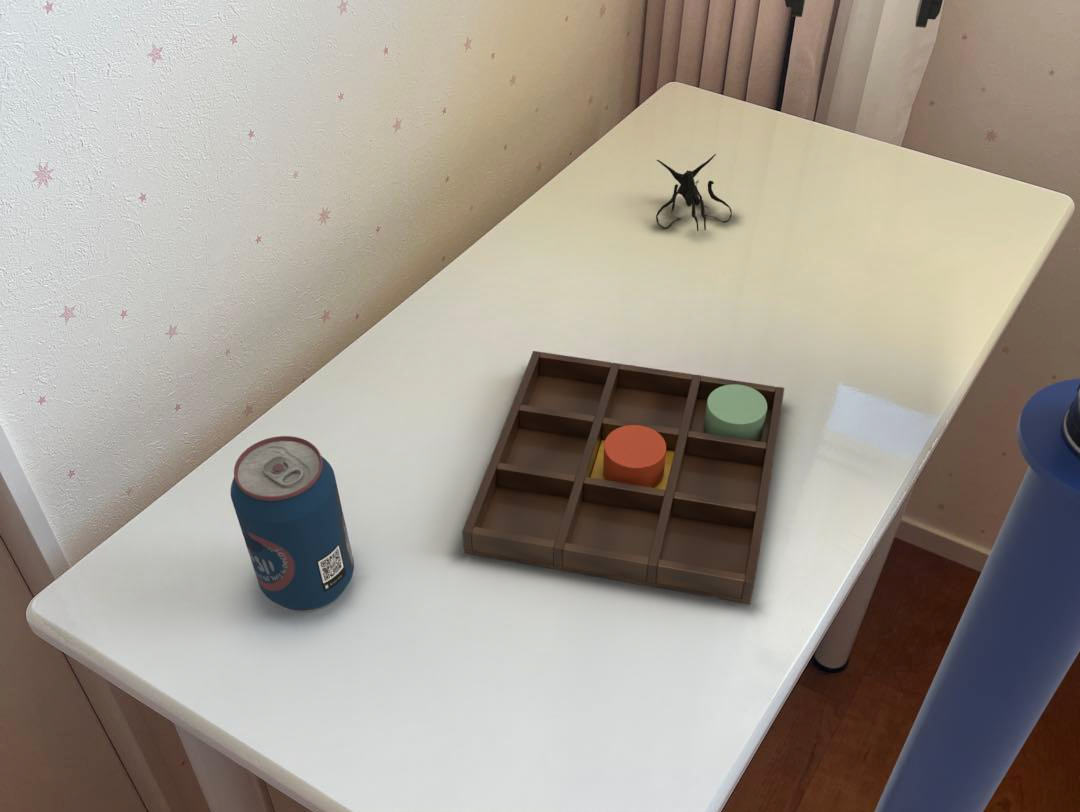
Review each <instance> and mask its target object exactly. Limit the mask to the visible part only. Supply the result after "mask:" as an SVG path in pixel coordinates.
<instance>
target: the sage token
mask: <svg viewBox="0 0 1080 812" xmlns="http://www.w3.org/2000/svg"><path fill="white" fill-rule="evenodd" d="M766 412H767V402H766V400H765V398H764V397H763V395H762V394H761V393H759V392H758V391H756V390H755V389H753V388H750V387H748V386H744V385H735V384H733V385H725V386H721V387H719V388H717V389H715V390H714V391H713V392H712V393H711V394H710V395H709V397H708V400H707V406H706V414H705V422H704V431H705V433H707V434H713V435H720V436H726V437H733V438H739V439H746V440H752V441H759V440H760V438H761V437H762V434H763V428H764V423H765V418H766Z"/></svg>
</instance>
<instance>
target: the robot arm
mask: <svg viewBox="0 0 1080 812" xmlns="http://www.w3.org/2000/svg"><path fill="white" fill-rule="evenodd" d="M943 2H944V0H919V1H918V4H917V8H916V9H917V10H916V13H915V14H916V15H915V23H914V24H915V25H914V26H915V28H923V29H926V28H927V25H928V21H929V20H933V21H934V20H936V19H937V17H938V16H939V15H940V13H941V10H942V5H943ZM805 3H806V0H784V4H785V7H786V8H792V13H791V16H792V17H794V18H797V17H798V18H802V17H803V15H804V9H805ZM1077 391H1078V392H1077V395H1076V397H1075V399H1074V400H1073V402H1072V404H1071V406H1070V409H1069V410H1068V411H1067V413H1066V415H1065V418H1064V420H1063V422H1062V436H1063V439H1064V441H1065V443H1066V444H1067V446H1068V447H1069V449H1070V450H1071V451H1072V452H1073V453H1074V454H1075V455H1076V456H1077V457H1078V458H1079V459H1080V384H1079V386H1078V389H1077Z"/></svg>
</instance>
